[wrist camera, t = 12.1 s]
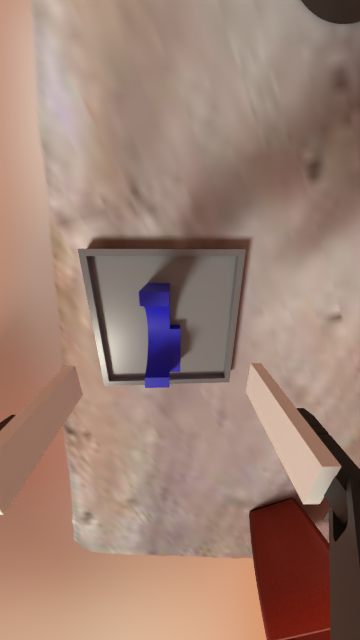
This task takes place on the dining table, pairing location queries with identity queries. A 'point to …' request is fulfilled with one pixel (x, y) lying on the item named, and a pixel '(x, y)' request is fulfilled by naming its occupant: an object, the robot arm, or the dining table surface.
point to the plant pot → (291, 572)
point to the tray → (185, 309)
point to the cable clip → (160, 335)
